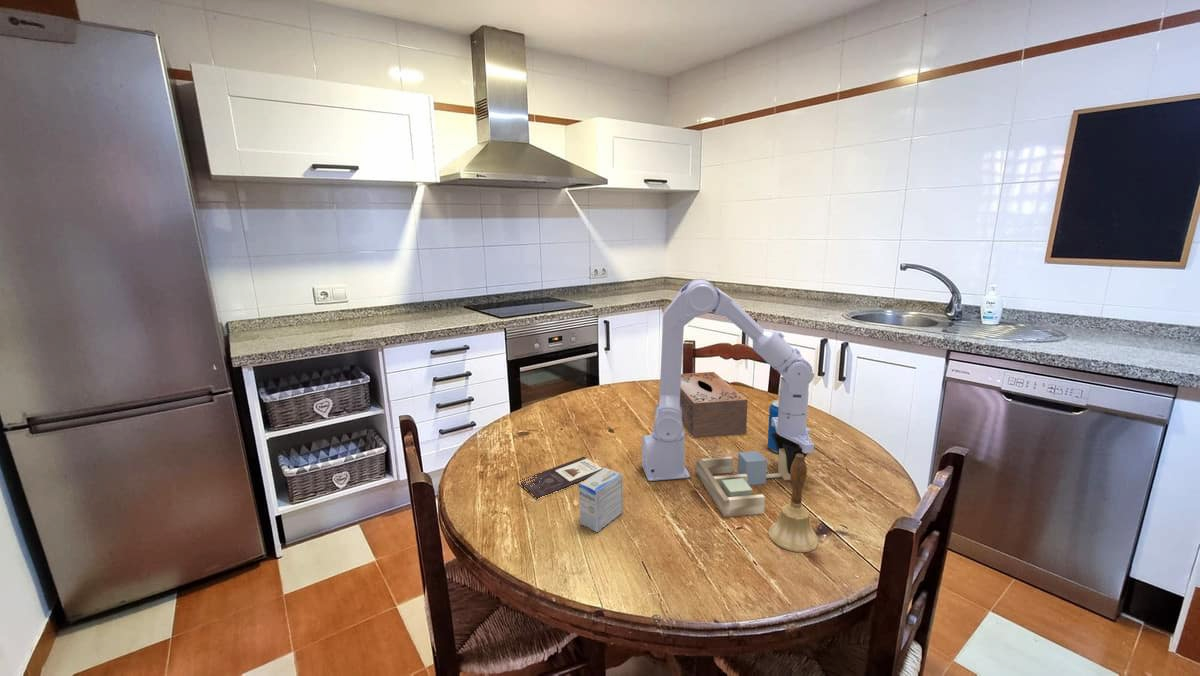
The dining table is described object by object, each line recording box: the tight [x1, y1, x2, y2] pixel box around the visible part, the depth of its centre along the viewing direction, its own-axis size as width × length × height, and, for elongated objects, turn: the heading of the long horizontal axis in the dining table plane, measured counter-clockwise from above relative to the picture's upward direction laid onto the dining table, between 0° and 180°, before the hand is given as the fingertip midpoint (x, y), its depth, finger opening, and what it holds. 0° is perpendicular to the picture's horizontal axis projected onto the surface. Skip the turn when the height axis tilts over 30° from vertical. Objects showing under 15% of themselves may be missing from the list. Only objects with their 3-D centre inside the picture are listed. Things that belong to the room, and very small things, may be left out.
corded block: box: [737, 448, 791, 486], centre depth 102 cm, size 12×4×6 cm, turn 96°
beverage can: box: [767, 399, 779, 454], centre depth 115 cm, size 6×6×12 cm
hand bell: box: [767, 453, 820, 554], centre depth 81 cm, size 8×8×16 cm
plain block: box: [722, 478, 753, 497], centre depth 94 cm, size 4×4×4 cm
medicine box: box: [578, 467, 624, 533], centre depth 89 cm, size 8×4×9 cm, turn 141°
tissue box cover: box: [680, 371, 749, 439], centre depth 136 cm, size 26×14×10 cm, turn 6°
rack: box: [696, 456, 766, 518], centre depth 98 cm, size 8×17×4 cm, turn 6°
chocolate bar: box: [519, 456, 604, 499], centre depth 106 cm, size 9×1×18 cm
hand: (789, 469), depth 103 cm, fingers closed on corded block, 3 cm apart
